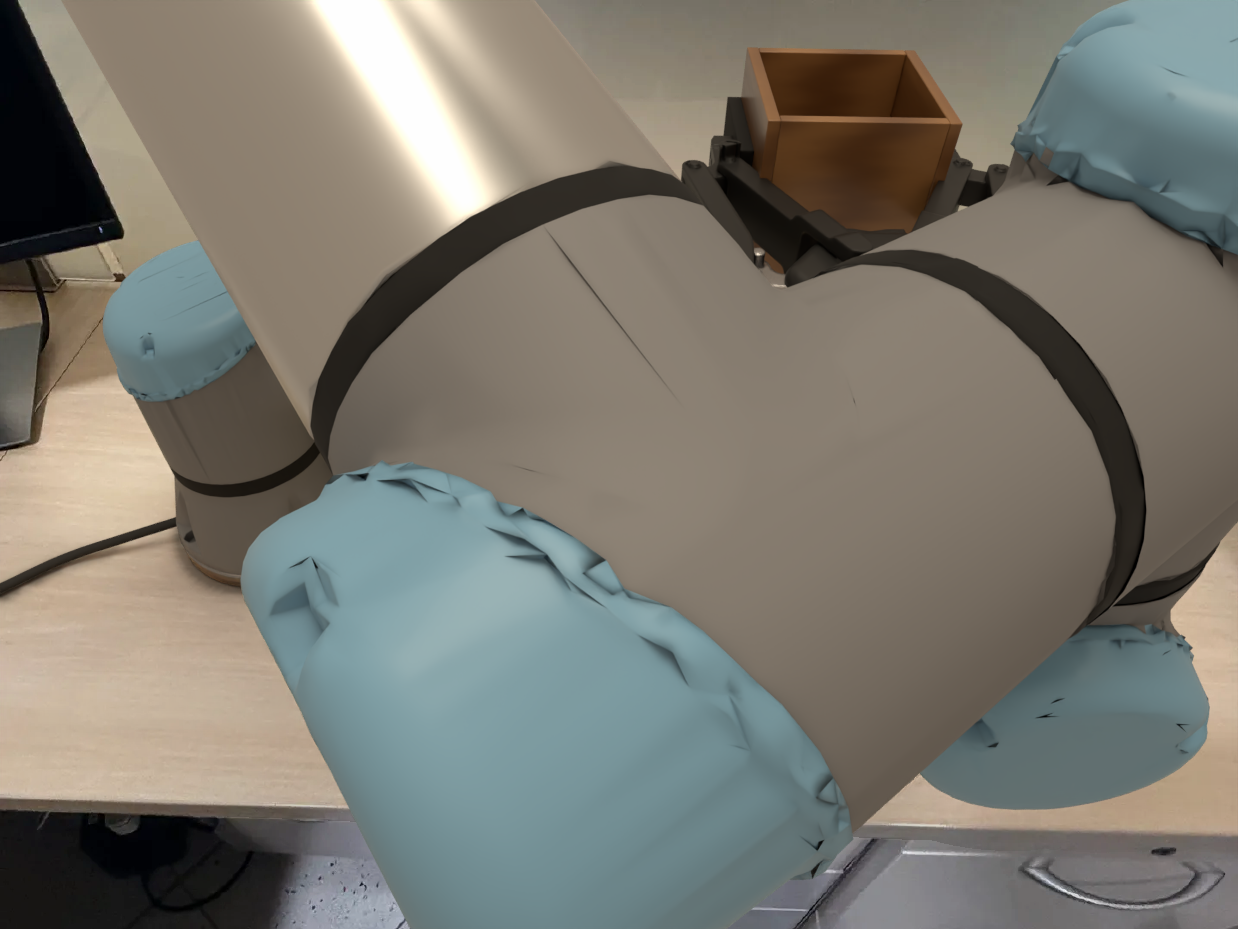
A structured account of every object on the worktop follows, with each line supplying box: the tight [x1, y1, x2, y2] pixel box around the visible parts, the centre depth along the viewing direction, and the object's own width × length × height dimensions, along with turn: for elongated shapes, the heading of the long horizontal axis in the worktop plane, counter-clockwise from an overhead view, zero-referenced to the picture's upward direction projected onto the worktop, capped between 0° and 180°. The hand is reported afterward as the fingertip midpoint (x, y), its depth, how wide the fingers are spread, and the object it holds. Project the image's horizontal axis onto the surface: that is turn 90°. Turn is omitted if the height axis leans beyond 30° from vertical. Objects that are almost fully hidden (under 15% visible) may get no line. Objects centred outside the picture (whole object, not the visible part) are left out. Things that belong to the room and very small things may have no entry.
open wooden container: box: [740, 46, 964, 274], centre depth 45 cm, size 9×9×10 cm
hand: (816, 122), depth 48 cm, fingers closed on open wooden container, 9 cm apart
